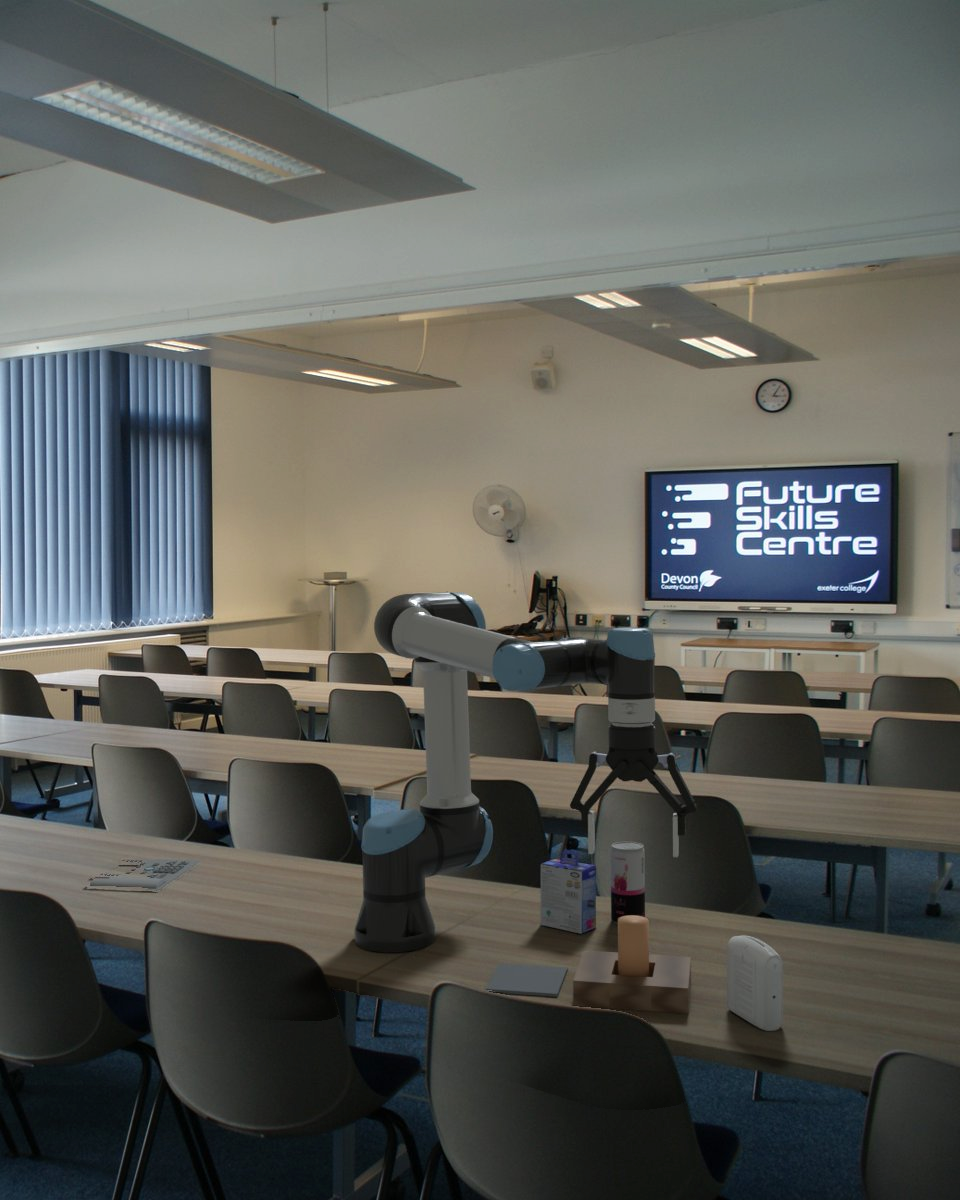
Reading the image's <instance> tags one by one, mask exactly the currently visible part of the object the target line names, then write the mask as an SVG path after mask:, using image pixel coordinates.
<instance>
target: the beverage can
mask: <svg viewBox="0 0 960 1200" xmlns="http://www.w3.org/2000/svg"><path fill="white" fill-rule="evenodd" d="M645 860H646V858H645V848H644V844H643V843H642V842H641V843H640V842H635V841H628V840H627V841H618V842H614V843H612V844H611V847H610V908H611V911H610V914H611V917H610V919H611V921H612V922H613V923H614V924H615V925H617V926H618V918H620V917H622V916H628V915H635V916H642V917H645V918H646V883H645V881H646V879H645V878H646V877H645V876H646V873H645V868H646V866H645V865H646V863H645V862H646V861H645Z"/></svg>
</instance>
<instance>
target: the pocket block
mask: <svg viewBox="0 0 960 1200" xmlns="http://www.w3.org/2000/svg"><path fill="white" fill-rule="evenodd" d="M572 983H573V984H572V988H573V989H572V993H573V994H572V995H573V999H572V1000H573V1001H572V1004H573V1006H575V1005H580V1007H589V1006H592V1007H593V1008H603V1009H604V1008H606V1009H621V1010H633V1011H646V1012H647V1011H648V1012H658V1013H659V1012H660V1013H675V1014H678V1013H679V1014H686V1015H688V1014H689V1011H690V999H691V998H690V997H691V987H692V957H691V956H679V955H667V954H666V955H664V954H650V953H649V977H642V976H627V975H618V951H617V952H616V951H615V952H614V951H598V950H583V952H582V955H581V958H580V961H579V964H578V966H577V969H576V971H575V975H574V977H573V980H572ZM592 1007H591V1008H592Z"/></svg>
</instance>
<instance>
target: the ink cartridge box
mask: <svg viewBox="0 0 960 1200" xmlns="http://www.w3.org/2000/svg"><path fill="white" fill-rule="evenodd" d="M580 854H581V852H580V851H576V850H572V849H564V850H563V852H562V856H561V858H560V859H558V858H557V859H556V858H554V859H551V860H547V861H545V862H542V863H541V864H540V907H539V908H540V913H539V914H540V915H539V916H540V917H539V919H540V920H539V921H540V923H539V925H540V926H544V927H550V928H554V929H558V930H562V931H567V932H570V933H575V934H581V935H582V934H584V933H588V932H589V931H591V930H595V929H596V928H597V896H596V895H597V873H596V872H597V866H596V865H594V864H588V863H582V862H579V858H580ZM566 855H573V856H574V857H575V858H571V857H566Z"/></svg>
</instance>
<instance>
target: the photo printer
mask: <svg viewBox="0 0 960 1200" xmlns="http://www.w3.org/2000/svg"><path fill="white" fill-rule="evenodd" d="M726 1006H727V1009H728V1010H730V1011H731V1012H732V1013H734V1014H736V1016H739V1017H740V1018H742V1019H743V1020H745V1021H746V1022H748V1023H750V1024H751V1025H753V1026H755V1027H756V1028H758V1029H761V1030H764V1031H766V1032H774V1031H777V1030H779V1029H780V1028H781V1027H782V1025H783V1019H784V962H783V960H782V958H781V956H780V955H779V954H778V952H777V951H776V950H775V949H774V948H772V947H771V946H770V945H769V944H767V943H765V942H764V941H762V940H761V939H759V938H756V937H753V936H749V935H745V934H744V935H735V936H732V937H731V938H730V939H729V940H728V943H727V947H726Z"/></svg>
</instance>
